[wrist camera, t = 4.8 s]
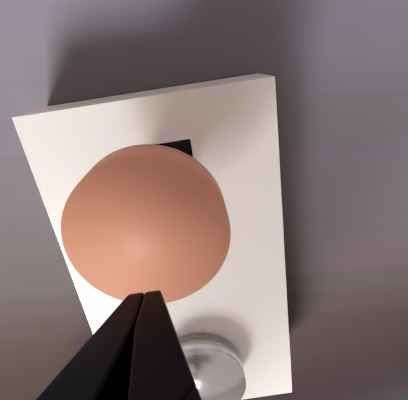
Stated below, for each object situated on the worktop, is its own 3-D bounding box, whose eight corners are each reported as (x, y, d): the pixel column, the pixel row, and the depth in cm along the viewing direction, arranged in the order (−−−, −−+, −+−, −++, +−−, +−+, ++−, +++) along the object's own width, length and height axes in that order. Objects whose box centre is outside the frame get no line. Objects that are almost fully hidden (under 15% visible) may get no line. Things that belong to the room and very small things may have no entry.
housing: (277, 346, 26) (292, 392, 23) (132, 367, 27) (123, 416, 23) (257, 73, 18) (275, 76, 15) (46, 106, 18) (11, 117, 15)
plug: (237, 345, 26) (249, 411, 21) (168, 355, 26) (163, 424, 21) (230, 288, 23) (241, 348, 19) (153, 300, 24) (144, 362, 19)
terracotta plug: (223, 225, 17) (238, 292, 12) (116, 241, 17) (88, 314, 12) (208, 116, 15) (219, 143, 10) (86, 135, 15) (35, 171, 10)
